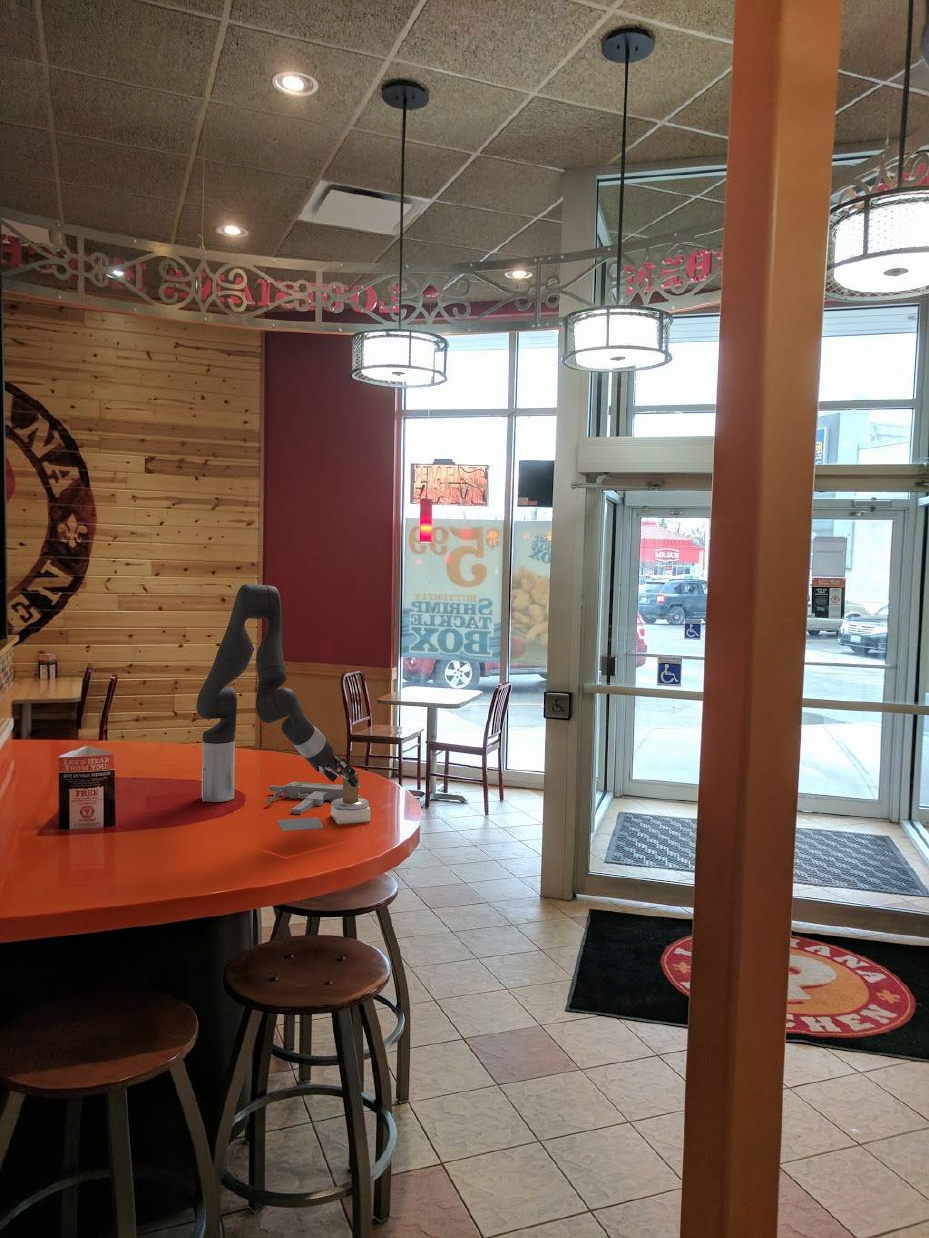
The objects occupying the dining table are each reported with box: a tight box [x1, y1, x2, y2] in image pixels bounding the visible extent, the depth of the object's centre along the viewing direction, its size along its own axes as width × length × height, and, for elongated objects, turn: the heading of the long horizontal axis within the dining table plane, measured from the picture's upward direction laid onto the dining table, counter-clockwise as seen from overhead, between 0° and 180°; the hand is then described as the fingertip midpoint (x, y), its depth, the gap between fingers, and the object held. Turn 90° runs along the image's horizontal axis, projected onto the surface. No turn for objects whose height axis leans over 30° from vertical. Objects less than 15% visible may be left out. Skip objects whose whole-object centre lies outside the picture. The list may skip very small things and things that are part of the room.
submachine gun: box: [265, 781, 361, 815], centre depth 263 cm, size 4×28×25 cm
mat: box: [276, 816, 325, 832], centre depth 240 cm, size 11×11×1 cm
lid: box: [331, 772, 370, 810], centre depth 246 cm, size 10×10×9 cm
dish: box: [330, 802, 371, 825], centre depth 246 cm, size 9×9×4 cm
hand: (345, 781), depth 244 cm, fingers open, 8 cm apart
